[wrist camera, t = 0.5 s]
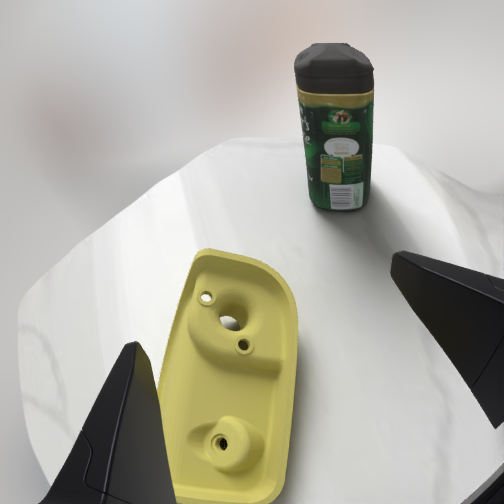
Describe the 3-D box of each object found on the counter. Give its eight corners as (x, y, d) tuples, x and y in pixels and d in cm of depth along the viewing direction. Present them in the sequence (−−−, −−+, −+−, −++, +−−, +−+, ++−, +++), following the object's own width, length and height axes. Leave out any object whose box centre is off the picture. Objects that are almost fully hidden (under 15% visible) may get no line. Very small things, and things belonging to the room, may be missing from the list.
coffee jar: (309, 167, 40) (293, 39, 26) (364, 168, 38) (364, 39, 24) (305, 214, 34) (286, 58, 20) (371, 216, 32) (381, 58, 18)
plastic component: (280, 509, 14) (134, 493, 13) (253, 488, 20) (143, 473, 19) (301, 269, 25) (185, 241, 24) (274, 301, 31) (181, 281, 30)
